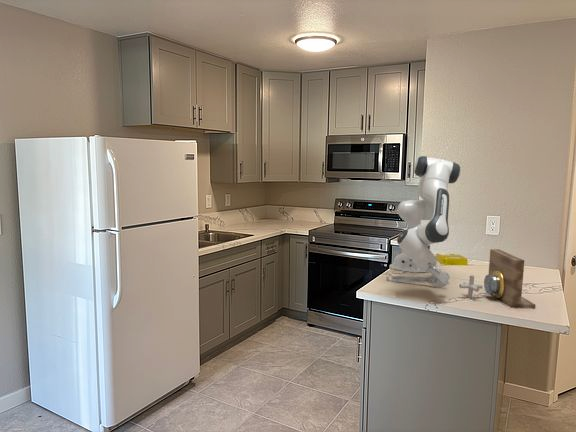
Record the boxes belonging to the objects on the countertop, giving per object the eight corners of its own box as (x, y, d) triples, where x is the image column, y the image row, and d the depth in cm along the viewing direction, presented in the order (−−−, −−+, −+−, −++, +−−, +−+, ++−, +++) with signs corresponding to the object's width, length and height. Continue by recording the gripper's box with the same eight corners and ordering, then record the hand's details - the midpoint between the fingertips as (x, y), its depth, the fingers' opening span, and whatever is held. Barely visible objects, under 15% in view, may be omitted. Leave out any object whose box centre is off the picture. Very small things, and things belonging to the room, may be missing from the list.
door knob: (492, 301, 188) (494, 274, 187) (481, 293, 200) (483, 267, 199) (504, 301, 188) (506, 274, 187) (492, 293, 200) (494, 267, 199)
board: (510, 307, 182) (514, 260, 180) (487, 291, 206) (490, 249, 204) (535, 308, 182) (539, 260, 180) (508, 291, 206) (512, 249, 203)
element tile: (443, 265, 261) (443, 257, 260) (434, 260, 276) (434, 252, 275) (468, 266, 261) (468, 258, 261) (458, 260, 276) (458, 253, 276)
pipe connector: (453, 294, 199) (455, 272, 198) (473, 294, 201) (476, 272, 199) (465, 300, 189) (467, 278, 188) (486, 301, 191) (489, 278, 190)
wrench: (387, 286, 222) (450, 287, 208) (386, 286, 220) (450, 288, 207) (386, 270, 221) (449, 271, 208) (385, 271, 220) (449, 272, 206)
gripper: (438, 261, 183) (460, 285, 184) (425, 251, 203) (445, 273, 204) (427, 271, 184) (449, 295, 184) (415, 261, 204) (435, 282, 205)
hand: (447, 283), depth 194 cm, fingers closed
